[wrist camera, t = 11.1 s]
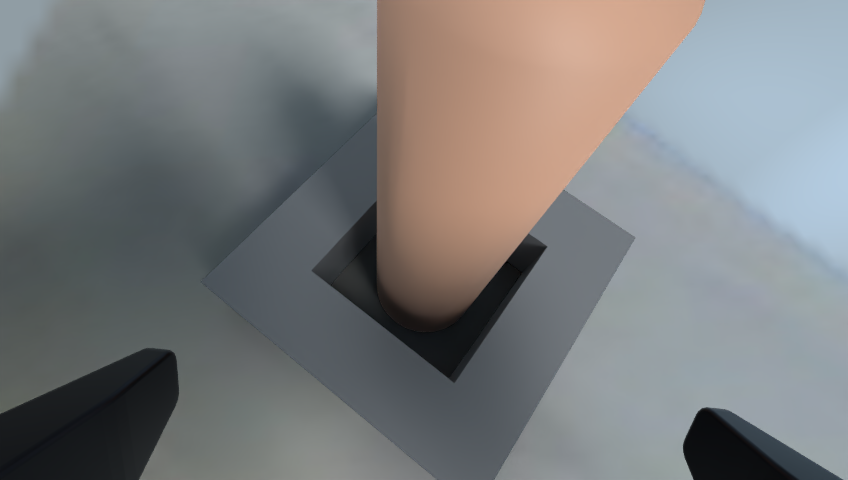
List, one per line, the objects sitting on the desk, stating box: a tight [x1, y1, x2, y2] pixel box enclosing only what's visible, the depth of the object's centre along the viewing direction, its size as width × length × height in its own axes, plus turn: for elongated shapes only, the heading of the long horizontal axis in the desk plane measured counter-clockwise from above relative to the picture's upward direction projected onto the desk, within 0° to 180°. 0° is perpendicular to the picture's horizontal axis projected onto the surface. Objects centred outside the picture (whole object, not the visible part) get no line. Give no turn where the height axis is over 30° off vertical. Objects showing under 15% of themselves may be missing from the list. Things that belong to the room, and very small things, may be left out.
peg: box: [377, 0, 705, 332], centre depth 12 cm, size 4×4×14 cm
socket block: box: [201, 113, 635, 480], centre depth 17 cm, size 11×11×3 cm
